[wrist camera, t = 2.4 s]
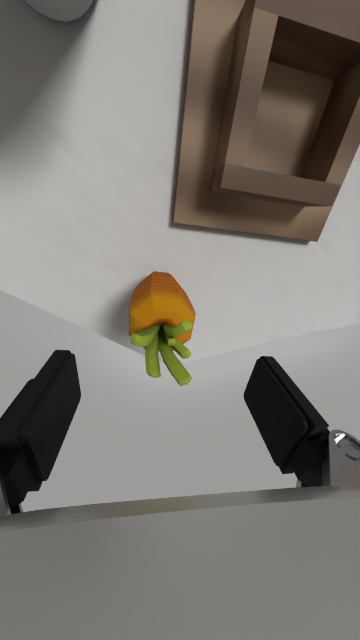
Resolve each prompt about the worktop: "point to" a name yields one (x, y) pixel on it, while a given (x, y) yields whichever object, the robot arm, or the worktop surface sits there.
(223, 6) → the walnut stand
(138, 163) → the worktop surface
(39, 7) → the coffee cup
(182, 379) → the carrot
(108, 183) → the worktop surface
